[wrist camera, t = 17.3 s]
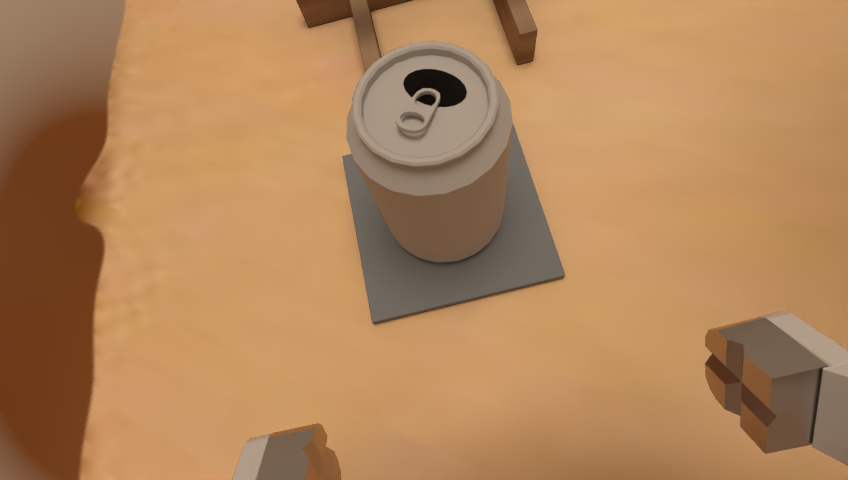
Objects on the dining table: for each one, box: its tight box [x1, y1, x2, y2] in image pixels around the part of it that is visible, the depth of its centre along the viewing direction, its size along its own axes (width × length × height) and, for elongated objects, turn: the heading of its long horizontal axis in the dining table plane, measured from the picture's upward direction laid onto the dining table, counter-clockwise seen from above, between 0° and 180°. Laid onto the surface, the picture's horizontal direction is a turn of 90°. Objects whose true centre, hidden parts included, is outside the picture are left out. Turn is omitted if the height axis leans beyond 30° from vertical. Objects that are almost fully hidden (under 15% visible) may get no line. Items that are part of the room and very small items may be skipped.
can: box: [347, 41, 513, 263], centre depth 25 cm, size 8×8×12 cm
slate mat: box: [342, 125, 565, 324], centre depth 31 cm, size 12×12×1 cm
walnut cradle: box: [296, 0, 537, 72], centre depth 35 cm, size 10×20×3 cm, turn 103°
